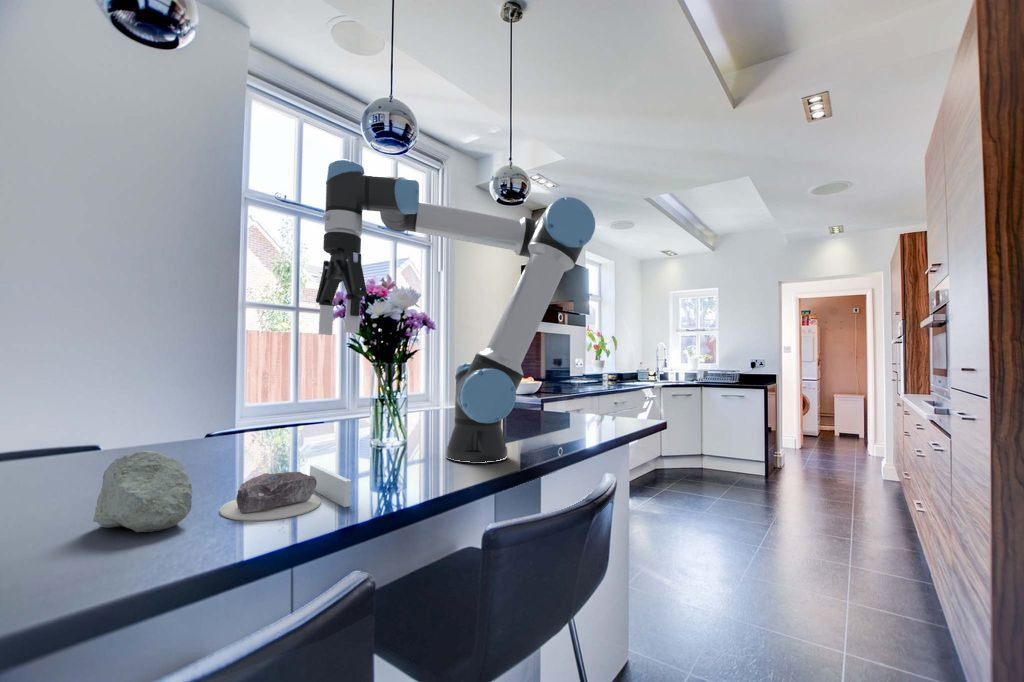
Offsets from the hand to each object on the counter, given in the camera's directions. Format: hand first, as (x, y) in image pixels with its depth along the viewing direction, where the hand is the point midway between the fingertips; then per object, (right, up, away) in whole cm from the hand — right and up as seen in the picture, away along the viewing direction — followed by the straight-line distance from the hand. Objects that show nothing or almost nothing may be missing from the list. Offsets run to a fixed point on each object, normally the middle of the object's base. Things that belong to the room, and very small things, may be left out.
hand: (337, 333), depth 102 cm
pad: (0, -27, -27) cm, 38 cm away
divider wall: (+6, -28, -21) cm, 35 cm away
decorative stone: (-13, -27, -37) cm, 47 cm away
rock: (0, -27, -27) cm, 38 cm away
